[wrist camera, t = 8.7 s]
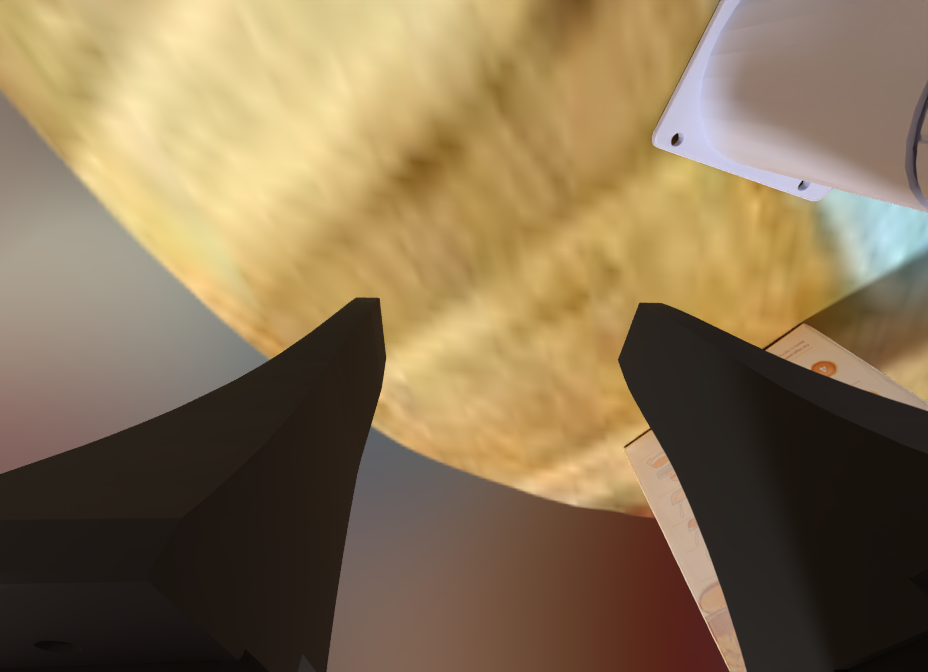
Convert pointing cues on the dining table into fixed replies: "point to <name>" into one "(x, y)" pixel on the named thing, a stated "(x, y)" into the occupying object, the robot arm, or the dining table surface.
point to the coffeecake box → (674, 507)
